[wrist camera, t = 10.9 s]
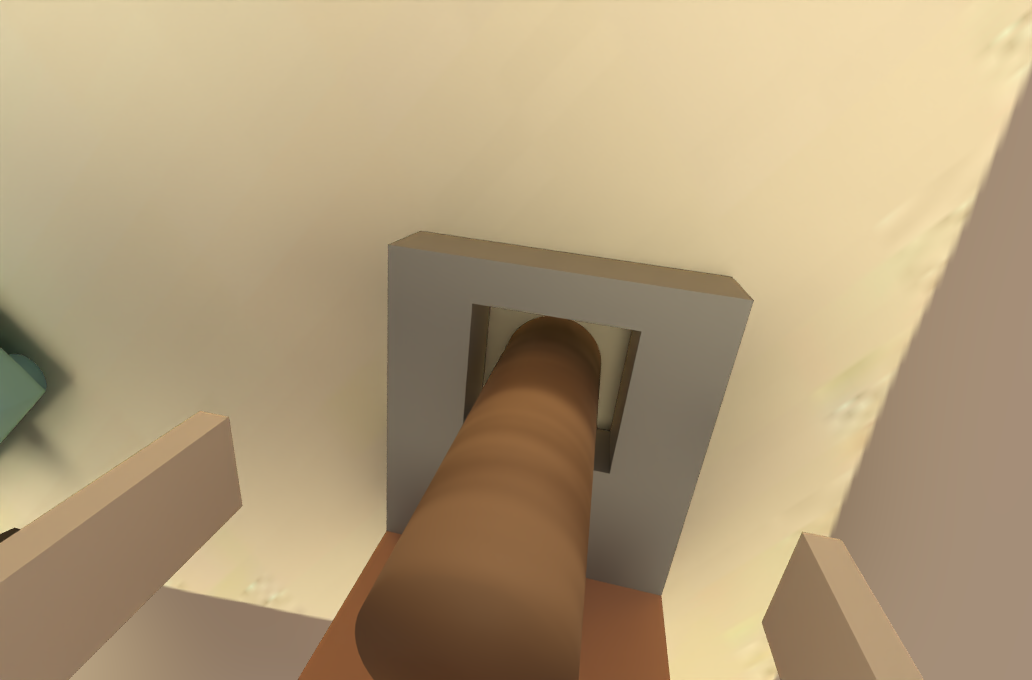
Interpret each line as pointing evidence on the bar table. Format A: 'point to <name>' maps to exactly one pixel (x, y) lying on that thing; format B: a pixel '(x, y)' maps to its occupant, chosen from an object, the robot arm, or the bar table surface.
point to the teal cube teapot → (18, 389)
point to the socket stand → (619, 452)
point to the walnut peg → (499, 529)
